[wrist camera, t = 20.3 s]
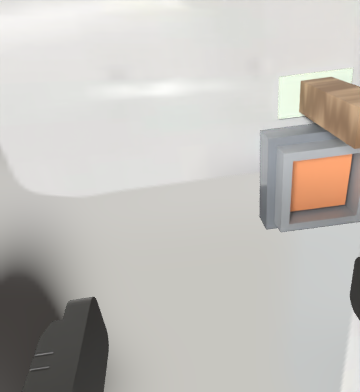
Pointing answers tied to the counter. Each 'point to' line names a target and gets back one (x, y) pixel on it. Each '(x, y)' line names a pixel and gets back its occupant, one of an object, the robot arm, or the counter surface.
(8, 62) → the counter surface
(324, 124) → the walnut block
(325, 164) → the button
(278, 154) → the grey open square box
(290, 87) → the sage mat
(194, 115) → the counter surface
